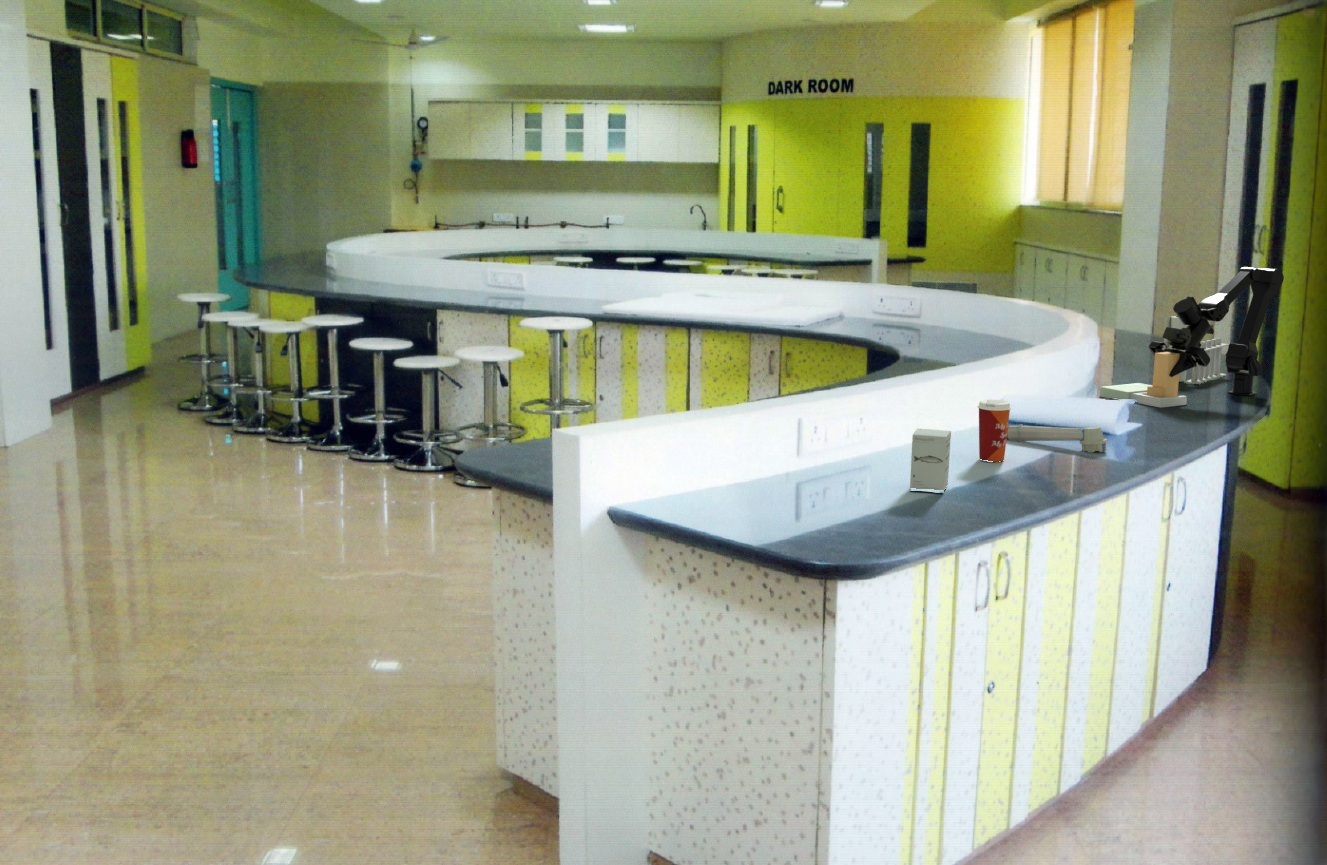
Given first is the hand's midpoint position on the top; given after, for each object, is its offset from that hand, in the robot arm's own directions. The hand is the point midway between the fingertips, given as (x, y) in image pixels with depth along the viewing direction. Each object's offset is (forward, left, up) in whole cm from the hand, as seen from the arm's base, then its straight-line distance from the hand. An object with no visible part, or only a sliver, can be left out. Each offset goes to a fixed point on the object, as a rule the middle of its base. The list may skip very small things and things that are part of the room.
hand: (1162, 374), depth 352 cm
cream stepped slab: (-2, -5, -8) cm, 10 cm away
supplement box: (+136, +12, -9) cm, 137 cm away
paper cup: (+102, +6, -9) cm, 102 cm away
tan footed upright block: (-1, 0, -7) cm, 7 cm away
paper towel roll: (-43, -16, -9) cm, 47 cm away
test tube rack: (-53, -9, -9) cm, 54 cm away
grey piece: (+77, +9, -9) cm, 78 cm away
